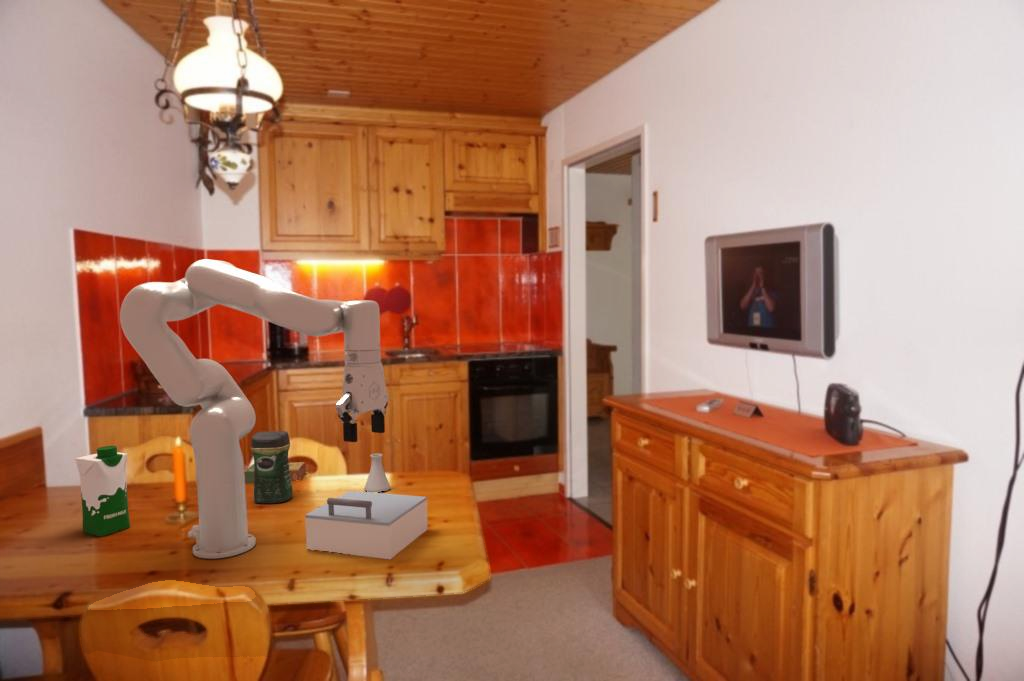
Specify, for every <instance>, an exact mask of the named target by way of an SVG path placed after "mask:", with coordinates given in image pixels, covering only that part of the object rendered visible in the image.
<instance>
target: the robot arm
mask: <svg viewBox="0 0 1024 681" xmlns="http://www.w3.org/2000/svg"><path fill="white" fill-rule="evenodd" d="M217 305H220V306H224V307H227V308H231V309H233V310H235V311H236V310H237V311H239V312H243V313H246V314H248V315H251V316H254V317H256V318H259V319H261V320H263V321H267V322H268V323H269V322H270V323H272V324H274V325H276V326H279V327H282V328H286V329H288V330H291V331H295V332H298V333H300V334H303V335H307V336H310V337H311V336H312V337H316V338H317V337H319V338H320V337H321V338H322V337H325V336H329V335H334V334H339V333H343V345H344V368H343V375H342V387H341V389H342V390H341V392H342V393H341V395H342V396H341V398H340V400H338V401H337V403H336V404H335V409H336V411H337V415H338V417H339V419H340V422H341V424H342V428H343V430H342V431H343V441H344V442H347V443H357V442H358V440H359V439H358V422H356V420H357V418H358V415H359V413H360V414H365V413H366V414H367V413H369V412H370V413H371V412H372V413H371V414H370V420H371V421H370V424H371V425H370V426H371V432H372V433H376V434H377V433H378V434H384V433H385V432H386V425H385V415H386V413H387V410H386V409H387V407H388V405H389V403H388V402H389V399H390V392H388V391H387V386H386V377H385V376H386V375H385V372H384V366H383V362H381V359H382V358H381V357H382V356H381V328H380V327H381V326H380V325H381V324H380V322H381V321H380V320H381V318H380V306H379V303H378V302H377V301H375V300H366V299H365V300H364V299H361V300H359V299H358V300H348V301H343V300H336V299H318V298H313V297H310V296H308V295H304V294H300V293H298V292H294V291H292V290H289V289H286V288H284V287H281V286H280V285H278V284H277V283H276V282H275V281H273V279H271V278H269V277H267V276H264V275H261V274H258V273H255V272H254V273H253V272H251V271H248V270H244V269H242V268H238V267H236V266H235V265H234V264H233V263H230V262H228V261H225V260H219V259H218V260H217V259H209V258H204V259H199V260H197V261H194V262H193V263H192V264H190V266H189V267H188V268H187V269H186V272H185V275H184V277H183V278H181V279H179V280H176V281H173V282H170V281H169V282H167V281H166V282H164V281H151V282H144V283H140V284H139V285H136V286H134V287H133V288H132V289H130V291H129V292H128V293H127V294H126V295H125V297H124V299H123V300H122V303H121V306H120V312H119V321H120V326H121V329H122V331H123V334H124V336H125V338H126V340H127V341H128V342H129V343H130V345H131V346H132V348H133V349H134V350H135V351H136V353H137V354H138V355H139V357H140V358H141V359H142V361H143V362H144V363H145V364H146V366H147V368H148V369H149V371H150V373H152V375H153V376H154V378H155V379H156V380H157V382H158V383H159V384H160V386H161V387H162V390H164V391H165V393H166V394H167V396H168V397H169V398H170V399H171V401H172V402H173V403H174V404H176V405H178V406H181V407H194V406H197V405H199V406H200V407H201V409H200V410H199V411H198V412H197V413H196V414H195V416H193V418H192V420H191V423H190V427H189V438H190V442H191V446H192V451H193V452H192V453H193V456H194V464H195V475H196V476H195V477H196V488H197V506H198V507H197V509H198V522H199V523H198V524H194V525H192V526H191V529H190V530H189V531H188V532H187V537H188V538H196V539H195V540H196V543H195V544H194V545H192V554H193V555H194V556H195V557H197V558H200V559H207V560H215V559H224V558H230V557H234V556H238V555H240V554H243V553H246V552H248V551H249V550H251V549H252V548H254V546H255V545H256V544H257V543H256V536H254V535H253V534H251V533H249V531H248V516H247V515H248V514H247V513H248V512H247V495H246V494H247V492H246V483H245V474H244V471H245V463H244V455H243V452H242V449H241V444H240V440H241V439H243V438H245V437H246V436H247V435H248V434H249V433H251V432H252V430H253V429H254V427H255V424H256V412H255V409H254V407H253V405H252V403H251V402H250V401H249V399H248V398H247V396H246V395H245V393H244V392H243V391H242V389H241V388H240V386H239V384H237V382H236V381H235V380H234V378H233V377H232V376H231V374H230V373H229V372H228V371H227V369H226V368H225V367H224V366H223V364H220V363H219V362H217V361H215V360H213V359H210V358H199V359H198V358H196V357H195V356H194V355H193V353H192V352H191V351H190V350H189V347H188V346H187V345H186V343H185V342H184V341H183V339H182V338H181V337H180V336H179V335H178V334H177V333H176V332H174V330H173V329H172V328H171V327H169V325H168V324H167V322H178V321H184V320H186V319H188V318H191V317H194V316H195V315H198V314H199V313H202V312H204V311H206V310H208V309H209V310H210V309H211V308H212V307H215V306H217Z"/></svg>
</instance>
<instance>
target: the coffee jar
mask: <svg viewBox="0 0 1024 681" xmlns="http://www.w3.org/2000/svg"><path fill="white" fill-rule="evenodd" d="M290 447H291V440H290V436H289V433H288V431H280V430H279V431H278V430H277V431H276V430H274V431H273V430H272V431H271V430H269V431H268V430H267V431H259V432H255V433H254V434H252V436H251V442H250V450H251V451H250V452H251V454H252V456H253V462H254V463H253V464H254V483H253V501H254V502H255V503H256V504H257V503H258V504H277V503H282V502H286V501H289V500H290V499H291V498H292V497H293V495H294V494H293V493H294V492H293V482H291V477H290V470H289V463H290V462H289V450H290Z"/></svg>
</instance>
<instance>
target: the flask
mask: <svg viewBox="0 0 1024 681" xmlns="http://www.w3.org/2000/svg"><path fill="white" fill-rule="evenodd" d="M369 455H370V458H371V465H370V470H369V473H368V477H367V480H366V482H365V485H364V489H365V490H366V491H368V492H380V493H382V492H381V491H386V490H388V491H390V490H392V487H391V485H390V482H389V480H388V477H387V475H386V472H385V470H384V466H383V463H382V459H383V458H382V457H383V454H382V453H373V454H369ZM364 489H363V490H364ZM389 489H390V490H389ZM365 490H364V491H365ZM366 491H365V492H366ZM386 492H387V491H386Z"/></svg>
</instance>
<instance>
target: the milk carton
mask: <svg viewBox="0 0 1024 681" xmlns="http://www.w3.org/2000/svg"><path fill="white" fill-rule="evenodd" d="M127 460H128V453H124V452H118V447H117V446H116V445H107V446H101V447H98V448H97V449H96V453H92V454H90V455H89V454H88V455H84V456H83V455H82V456H79V457H75V462H76V466H77V469H78V470H77V471H78V473H79V474H78V475H79V477H80V478H79V481H80V493H81V494H80V497H81V508H82V534H85V533H87V534H86V535H90V534H91V536H94V535H96V537H99V536H100V538H103V537H106V536H109V535H112V534H115V533H118V532H120V531H119V530H121V531H123V529H124V530H126V528H127V529H130V528H131V522H130V512H129V500H128V486H127V485H128V484H127V471H126V470H127V462H128V461H127ZM129 527H130V528H129ZM117 531H118V532H117ZM114 532H115V533H114ZM111 533H112V534H111ZM108 534H109V535H108ZM105 535H106V536H105ZM102 536H103V537H102Z"/></svg>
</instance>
